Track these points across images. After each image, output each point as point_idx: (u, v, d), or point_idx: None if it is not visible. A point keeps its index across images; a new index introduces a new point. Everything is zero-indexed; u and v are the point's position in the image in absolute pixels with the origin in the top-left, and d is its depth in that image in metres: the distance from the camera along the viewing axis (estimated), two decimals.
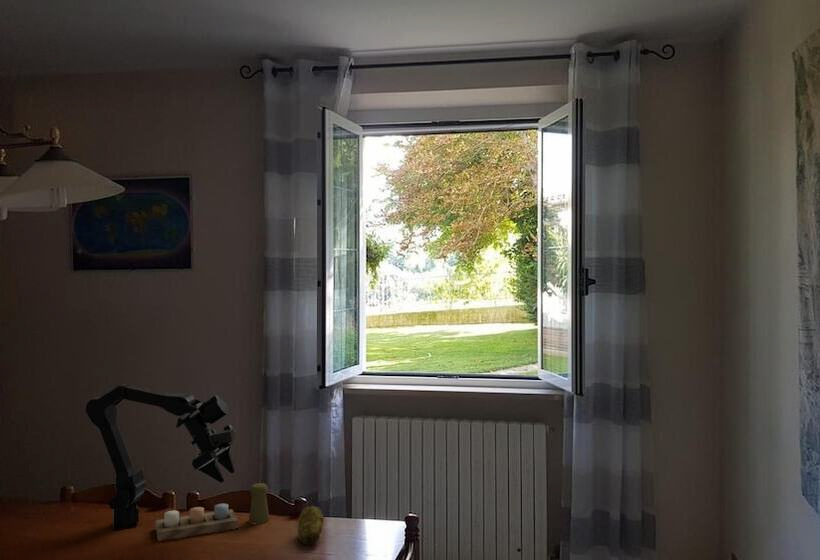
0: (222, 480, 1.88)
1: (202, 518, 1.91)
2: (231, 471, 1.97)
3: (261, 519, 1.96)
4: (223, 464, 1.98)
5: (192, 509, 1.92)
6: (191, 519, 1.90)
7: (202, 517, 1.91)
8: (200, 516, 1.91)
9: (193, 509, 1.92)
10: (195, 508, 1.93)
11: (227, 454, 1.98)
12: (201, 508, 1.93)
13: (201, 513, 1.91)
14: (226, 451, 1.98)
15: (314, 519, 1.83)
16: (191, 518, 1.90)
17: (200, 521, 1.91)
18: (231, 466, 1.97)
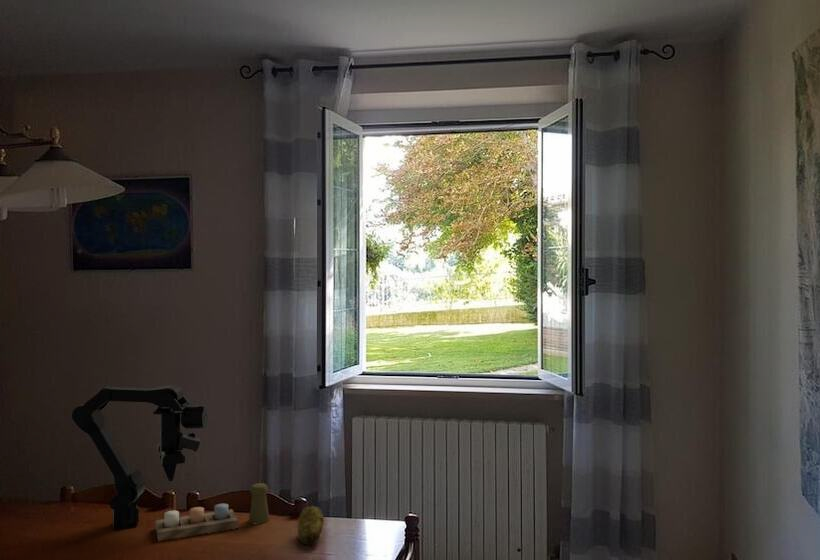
0: (172, 479, 1.95)
1: (202, 518, 1.91)
2: None
3: (261, 519, 1.96)
4: None
5: (192, 509, 1.92)
6: (191, 519, 1.90)
7: (202, 517, 1.91)
8: (200, 516, 1.91)
9: (193, 509, 1.92)
10: (195, 508, 1.93)
11: None
12: (201, 508, 1.93)
13: (201, 513, 1.91)
14: None
15: (314, 519, 1.83)
16: (191, 518, 1.90)
17: (200, 521, 1.91)
18: None
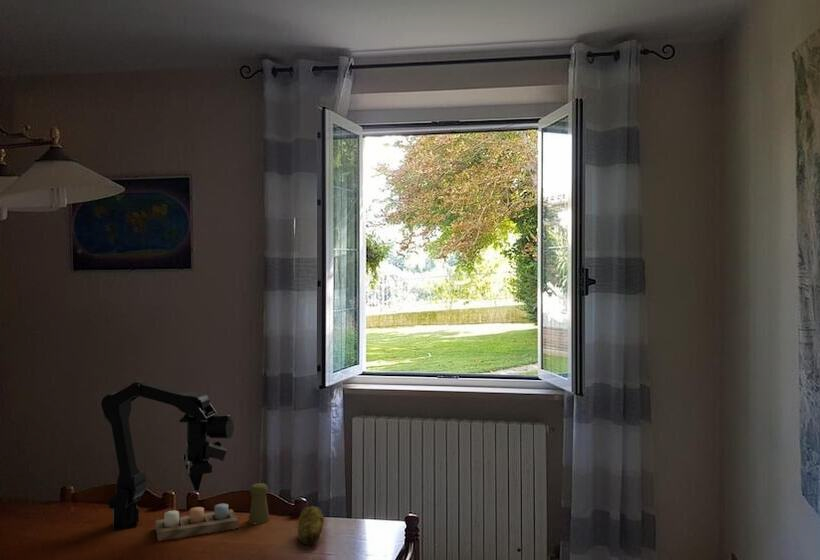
0: (198, 489, 1.92)
1: (202, 518, 1.91)
2: None
3: (261, 519, 1.96)
4: None
5: (192, 509, 1.92)
6: (191, 519, 1.90)
7: (202, 517, 1.91)
8: (200, 516, 1.91)
9: (193, 509, 1.92)
10: (195, 508, 1.93)
11: None
12: (201, 508, 1.93)
13: (201, 513, 1.91)
14: None
15: (314, 520, 1.83)
16: (191, 518, 1.90)
17: (200, 521, 1.91)
18: None
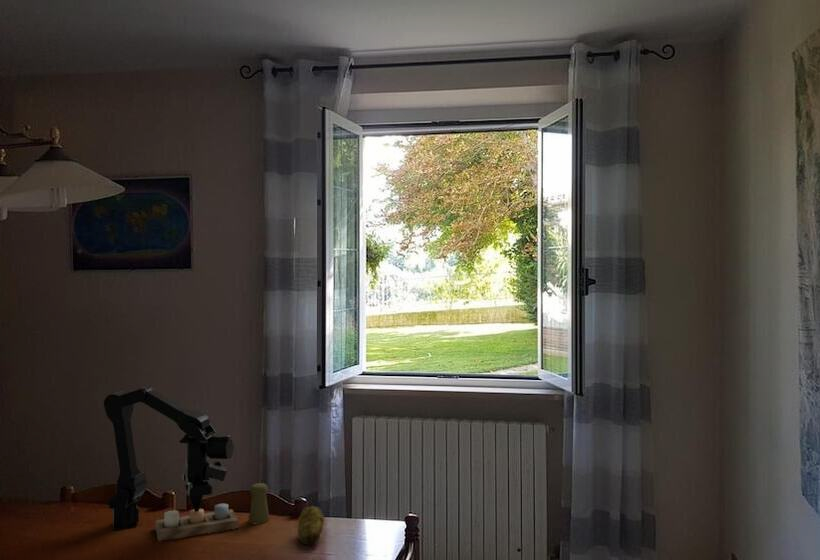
0: (198, 509, 1.92)
1: (202, 520, 1.91)
2: None
3: (261, 519, 1.96)
4: None
5: (192, 511, 1.92)
6: (191, 521, 1.90)
7: (202, 519, 1.91)
8: (200, 517, 1.91)
9: (193, 511, 1.92)
10: None
11: None
12: (201, 509, 1.93)
13: (201, 515, 1.91)
14: None
15: (314, 520, 1.83)
16: (191, 520, 1.90)
17: None
18: None
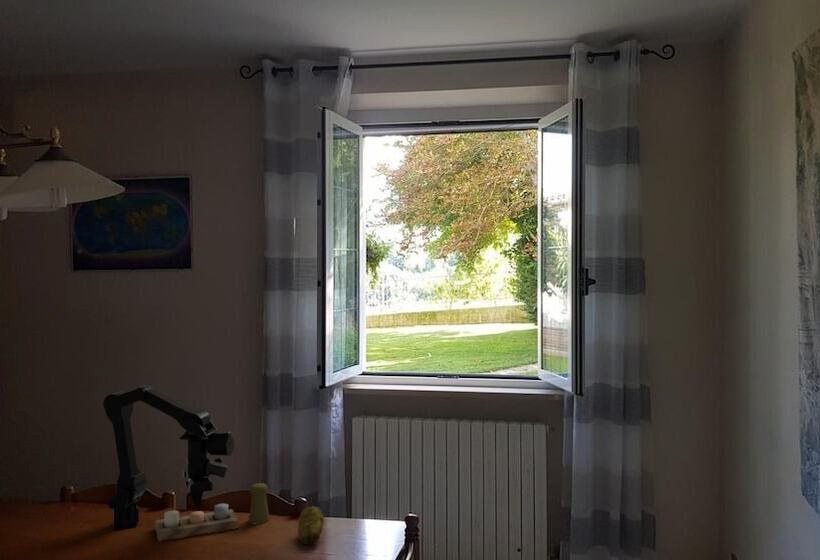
0: (198, 506, 1.92)
1: None
2: None
3: (261, 519, 1.96)
4: None
5: (192, 513, 1.92)
6: (191, 523, 1.90)
7: (202, 521, 1.91)
8: (200, 520, 1.91)
9: (193, 513, 1.92)
10: (195, 512, 1.93)
11: None
12: (201, 512, 1.93)
13: (201, 517, 1.91)
14: None
15: (315, 520, 1.83)
16: (191, 522, 1.90)
17: None
18: None
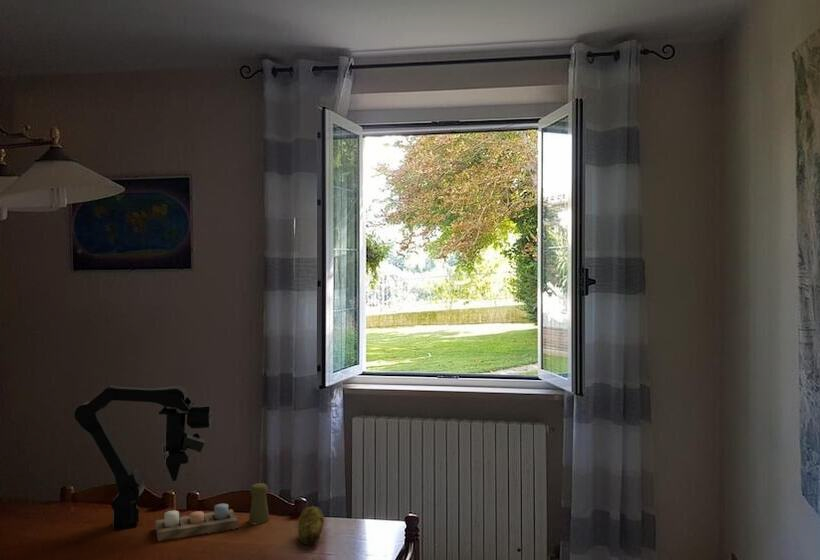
0: (175, 479, 1.96)
1: None
2: None
3: (261, 519, 1.96)
4: None
5: (192, 513, 1.92)
6: (191, 523, 1.90)
7: (202, 521, 1.91)
8: (200, 520, 1.91)
9: (193, 513, 1.92)
10: (195, 512, 1.93)
11: None
12: (201, 512, 1.93)
13: (201, 517, 1.91)
14: None
15: (315, 520, 1.83)
16: (191, 522, 1.90)
17: None
18: None
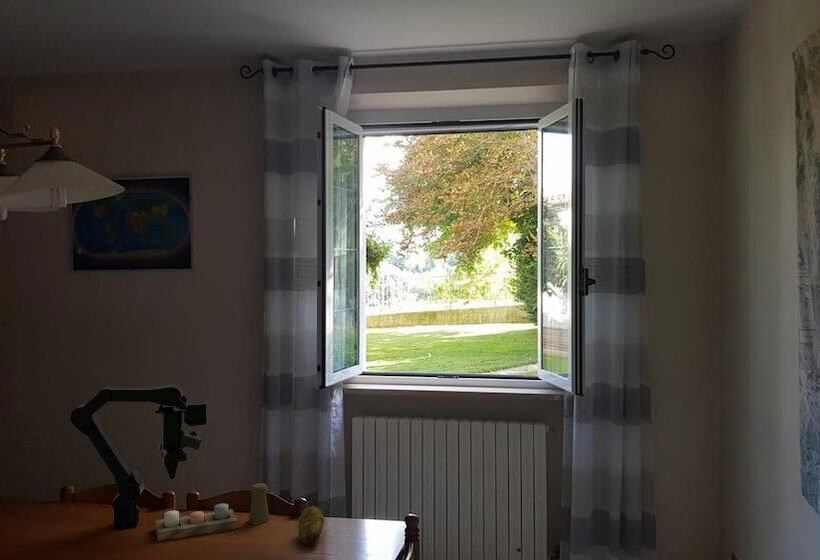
0: (173, 477, 1.97)
1: None
2: None
3: (261, 519, 1.96)
4: None
5: (192, 513, 1.92)
6: (191, 523, 1.90)
7: (202, 521, 1.91)
8: (200, 520, 1.91)
9: (193, 513, 1.92)
10: (195, 512, 1.93)
11: None
12: (201, 512, 1.93)
13: (201, 517, 1.91)
14: None
15: (315, 520, 1.83)
16: (191, 522, 1.90)
17: None
18: None
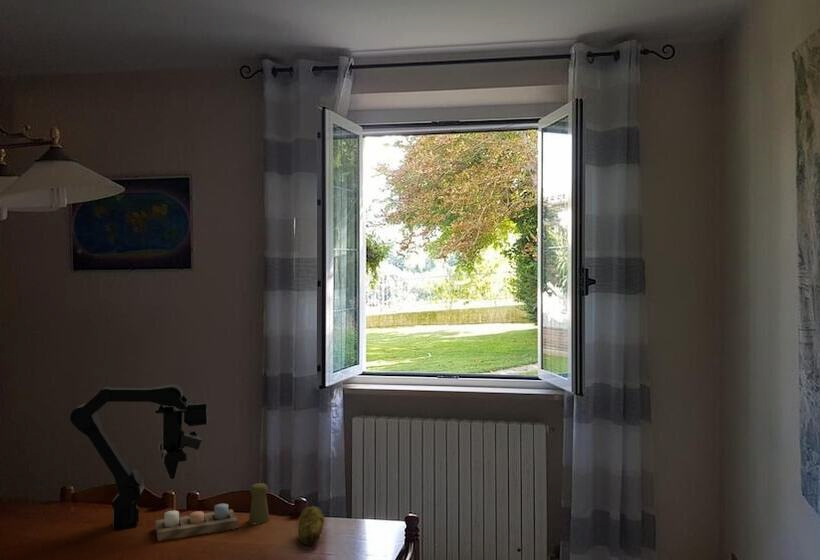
0: (173, 477, 1.97)
1: None
2: None
3: (261, 519, 1.96)
4: None
5: (192, 513, 1.92)
6: (191, 523, 1.90)
7: (202, 521, 1.91)
8: (200, 520, 1.91)
9: (193, 513, 1.92)
10: (195, 512, 1.93)
11: None
12: (201, 512, 1.93)
13: (201, 517, 1.91)
14: None
15: (315, 520, 1.83)
16: (191, 522, 1.90)
17: None
18: None
